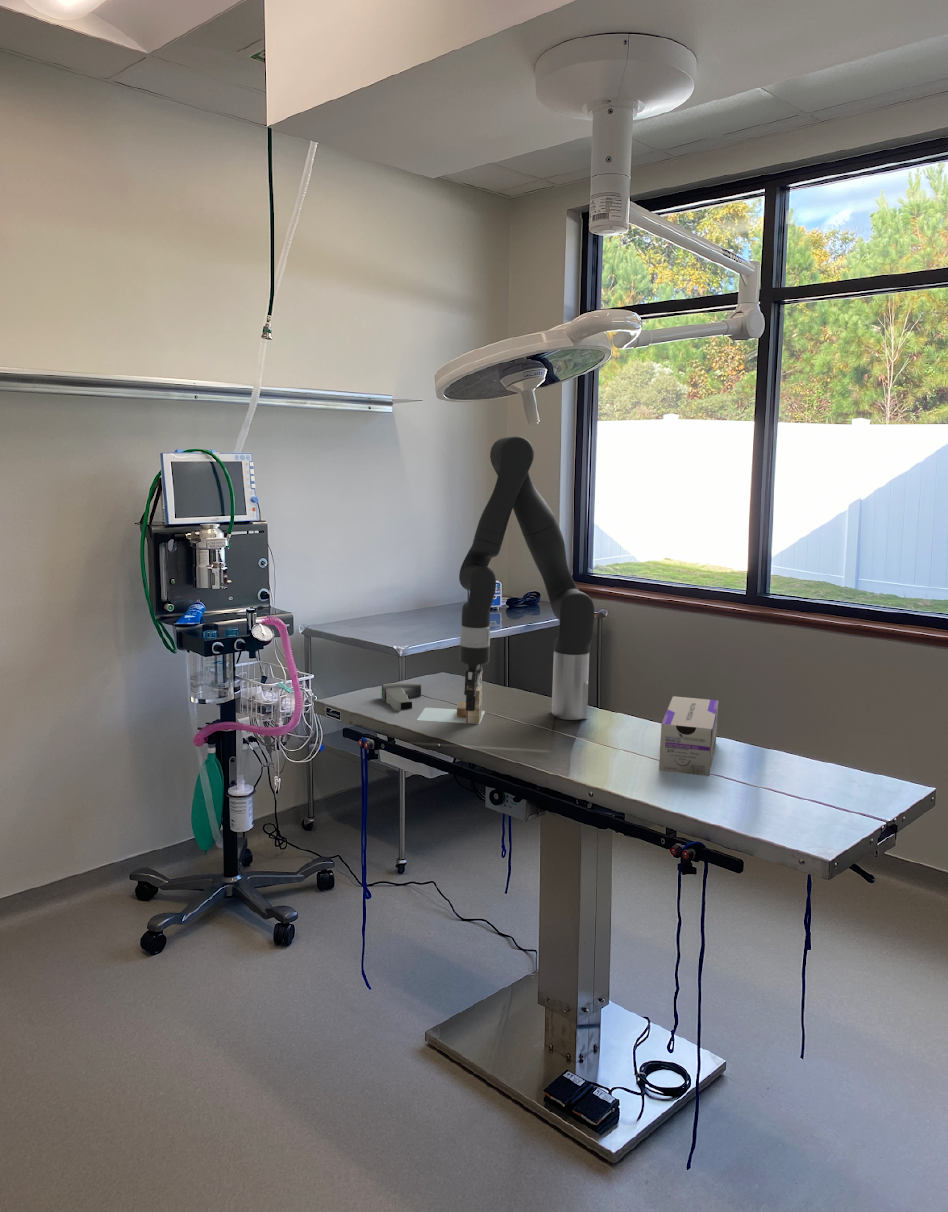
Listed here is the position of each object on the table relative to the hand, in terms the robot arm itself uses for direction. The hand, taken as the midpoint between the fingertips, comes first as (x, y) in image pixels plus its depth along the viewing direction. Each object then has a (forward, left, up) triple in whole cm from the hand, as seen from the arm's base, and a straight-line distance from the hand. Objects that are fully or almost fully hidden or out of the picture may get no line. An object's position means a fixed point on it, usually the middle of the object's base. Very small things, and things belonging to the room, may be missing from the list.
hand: (472, 706), depth 235 cm
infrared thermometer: (+19, -15, -5) cm, 25 cm away
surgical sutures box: (-52, +17, -5) cm, 55 cm away
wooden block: (0, 0, -4) cm, 4 cm away
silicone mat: (+6, -3, -4) cm, 8 cm away
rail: (+3, -5, -4) cm, 7 cm away
